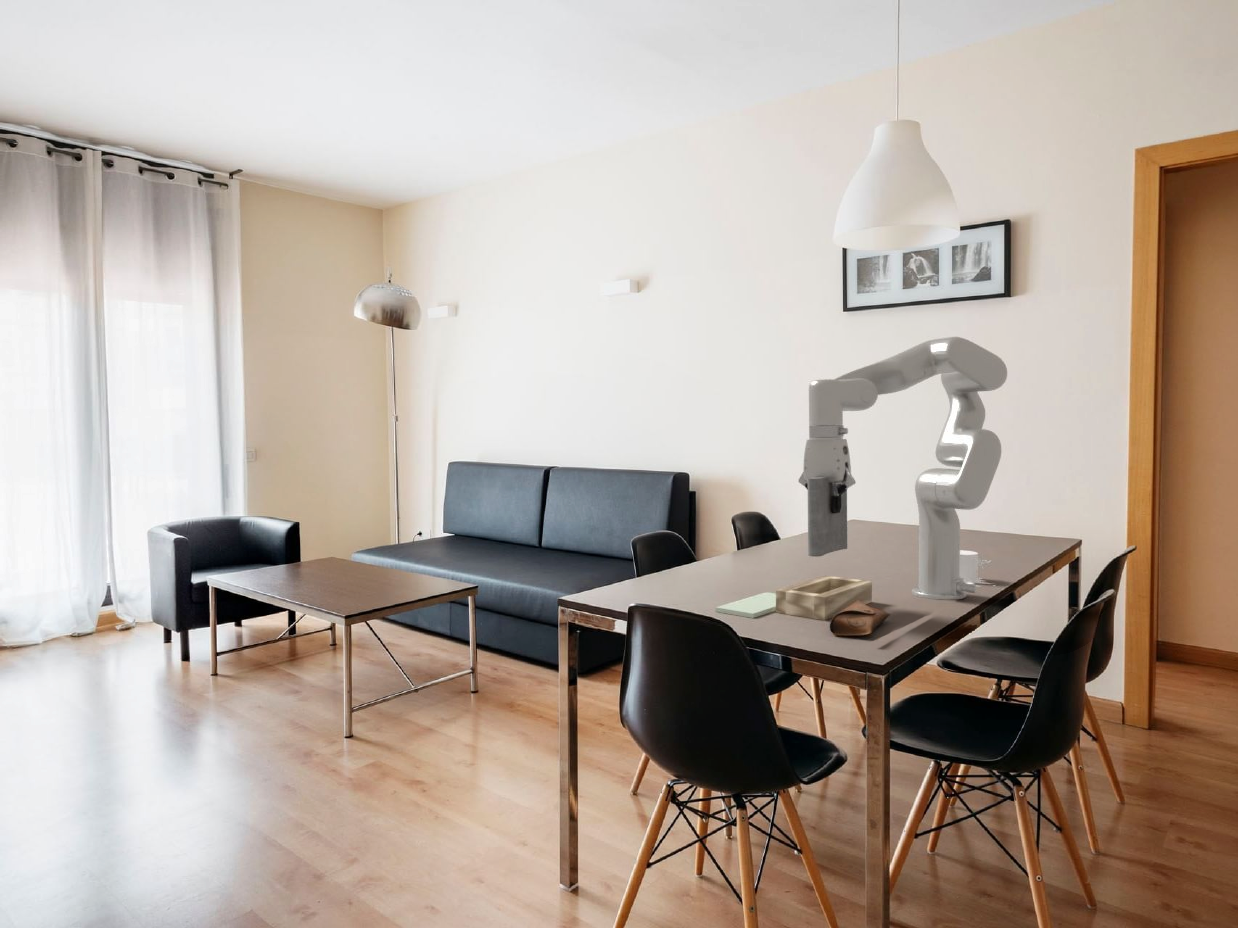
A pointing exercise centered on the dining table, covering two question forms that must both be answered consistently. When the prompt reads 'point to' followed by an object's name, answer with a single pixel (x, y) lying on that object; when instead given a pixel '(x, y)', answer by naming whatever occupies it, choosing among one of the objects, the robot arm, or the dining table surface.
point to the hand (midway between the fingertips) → (826, 511)
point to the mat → (750, 606)
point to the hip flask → (825, 519)
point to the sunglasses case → (857, 620)
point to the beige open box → (822, 597)
